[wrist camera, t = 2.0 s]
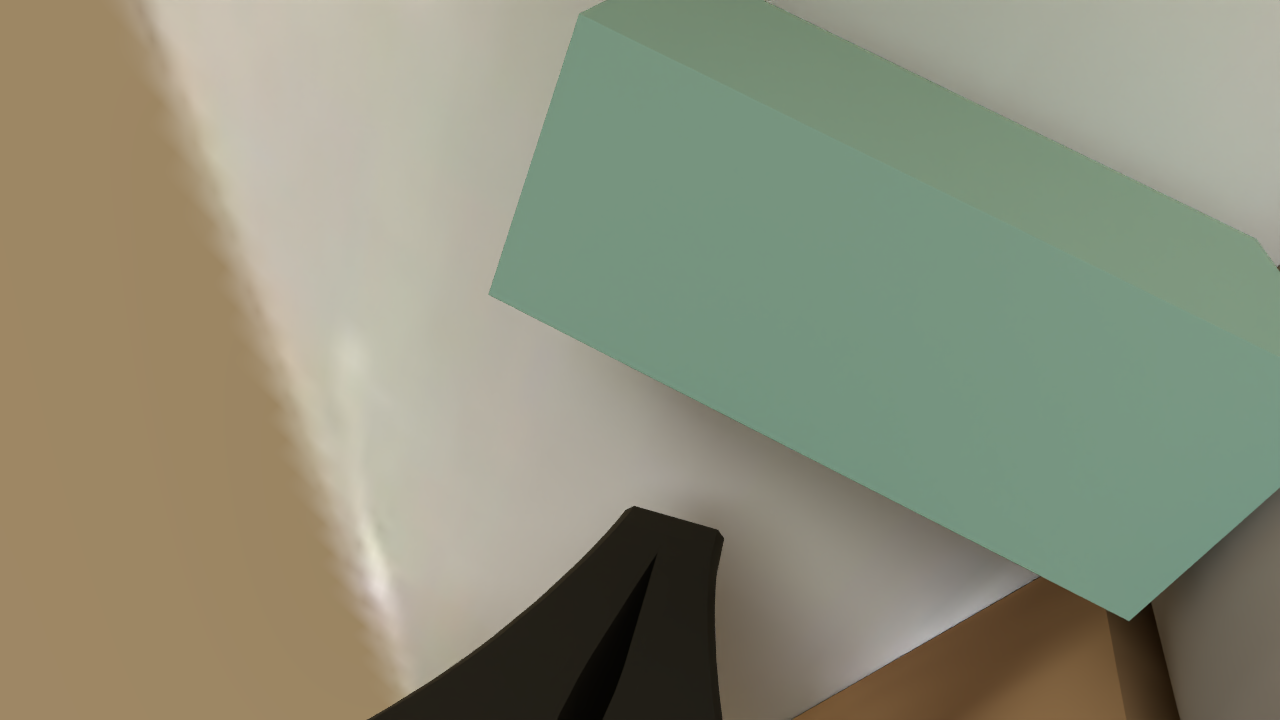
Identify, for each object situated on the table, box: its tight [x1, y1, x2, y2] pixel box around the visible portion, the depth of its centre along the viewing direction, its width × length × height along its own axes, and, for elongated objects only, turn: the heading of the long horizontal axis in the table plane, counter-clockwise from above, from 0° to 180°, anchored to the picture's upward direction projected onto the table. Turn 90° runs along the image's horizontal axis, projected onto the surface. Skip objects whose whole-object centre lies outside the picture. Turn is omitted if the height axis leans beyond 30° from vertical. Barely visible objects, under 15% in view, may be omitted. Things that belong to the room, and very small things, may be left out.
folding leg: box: [489, 0, 1280, 621], centre depth 10 cm, size 7×3×4 cm, turn 68°
